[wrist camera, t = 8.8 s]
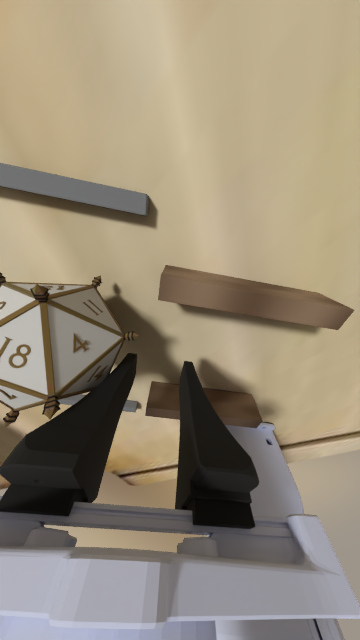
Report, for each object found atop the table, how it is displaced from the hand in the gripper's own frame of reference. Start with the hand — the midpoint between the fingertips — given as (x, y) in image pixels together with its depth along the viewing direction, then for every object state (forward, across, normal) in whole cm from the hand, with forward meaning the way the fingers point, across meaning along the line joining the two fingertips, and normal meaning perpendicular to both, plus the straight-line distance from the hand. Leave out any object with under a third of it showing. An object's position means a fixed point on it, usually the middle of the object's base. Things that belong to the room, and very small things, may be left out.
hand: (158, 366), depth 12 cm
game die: (+3, +6, -3) cm, 7 cm away
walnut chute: (+3, -5, 0) cm, 6 cm away
